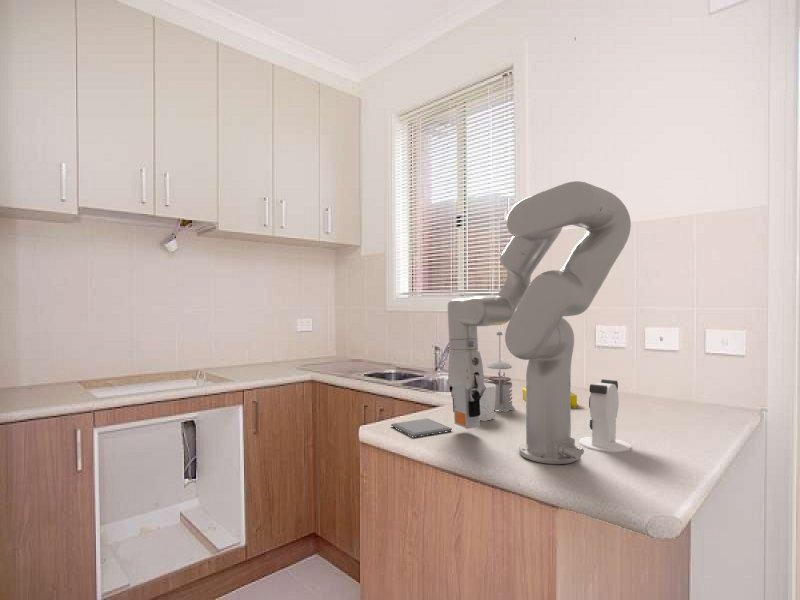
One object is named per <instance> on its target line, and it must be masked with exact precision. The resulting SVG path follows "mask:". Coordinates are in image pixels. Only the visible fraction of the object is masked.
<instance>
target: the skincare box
mask: <svg viewBox="0 0 800 600" xmlns="http://www.w3.org/2000/svg"><path fill="white" fill-rule="evenodd" d="M472 387H473V388H476V385H474V386H472ZM472 393H473V395H474V393H475V391H472ZM453 395H454V397H453V398H454V412H453V414H454V425H457V426H460V427H462V428H464V429H467V430H469V429H471V428H472V429H473V428H479V427H480V426H481V425H480V424H481V423H480V422H481V421H479V416H475V417H470V416H469V404H468V401H470V398H469V395H468V390H467V389H466V387H465V382H464V383H463V384H462V385H459V386H456V387H453Z"/></svg>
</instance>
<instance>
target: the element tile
mask: <svg viewBox="0 0 800 600" xmlns="http://www.w3.org/2000/svg"><path fill="white" fill-rule="evenodd" d="M522 400H523V401H524V402H526V386H525V387H523V388H522ZM570 400H571V409H574V407H575V408H577V407H578V395H577V394H575V393H573V392H571V391H570Z"/></svg>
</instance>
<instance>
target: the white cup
mask: <svg viewBox="0 0 800 600" xmlns="http://www.w3.org/2000/svg"><path fill="white" fill-rule="evenodd" d="M484 385H485V387H486V390H485V391H484V393H483V395H482V397H481V400H480V416H479V420H491V419H493V420H494V418H495V411H494V410H495V394H496V385H495V384H492V383H488V382H484ZM491 421H492V420H491Z"/></svg>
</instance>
